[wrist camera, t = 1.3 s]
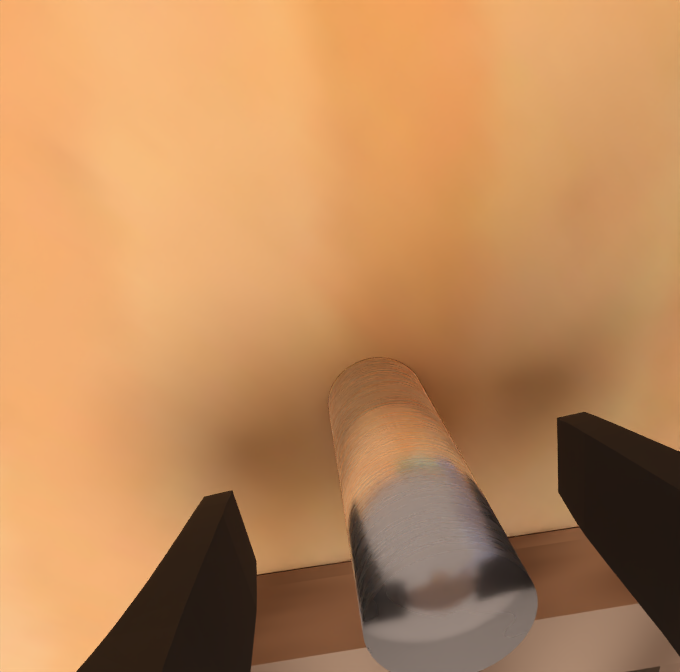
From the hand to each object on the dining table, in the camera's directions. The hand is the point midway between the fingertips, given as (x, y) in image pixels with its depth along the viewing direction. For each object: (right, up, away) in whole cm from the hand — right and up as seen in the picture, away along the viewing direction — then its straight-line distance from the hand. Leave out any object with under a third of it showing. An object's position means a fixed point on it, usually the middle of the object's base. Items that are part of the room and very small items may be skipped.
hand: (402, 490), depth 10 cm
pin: (0, +1, +4) cm, 4 cm away
